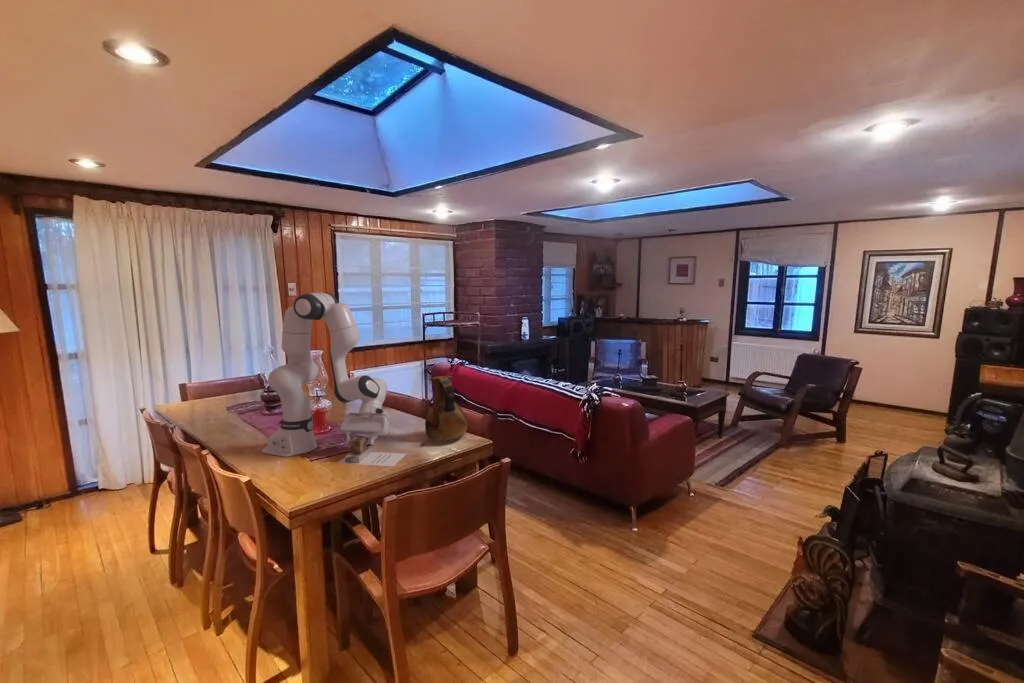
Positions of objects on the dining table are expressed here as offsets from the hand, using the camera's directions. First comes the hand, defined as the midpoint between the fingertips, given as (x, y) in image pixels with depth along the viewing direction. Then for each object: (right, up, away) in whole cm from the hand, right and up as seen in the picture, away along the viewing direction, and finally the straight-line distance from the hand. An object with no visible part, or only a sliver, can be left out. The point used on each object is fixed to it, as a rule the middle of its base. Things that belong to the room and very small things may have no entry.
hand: (359, 443), depth 183 cm
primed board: (+6, -7, -1) cm, 9 cm away
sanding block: (0, -6, 0) cm, 6 cm away
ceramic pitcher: (+32, -4, +26) cm, 42 cm away
